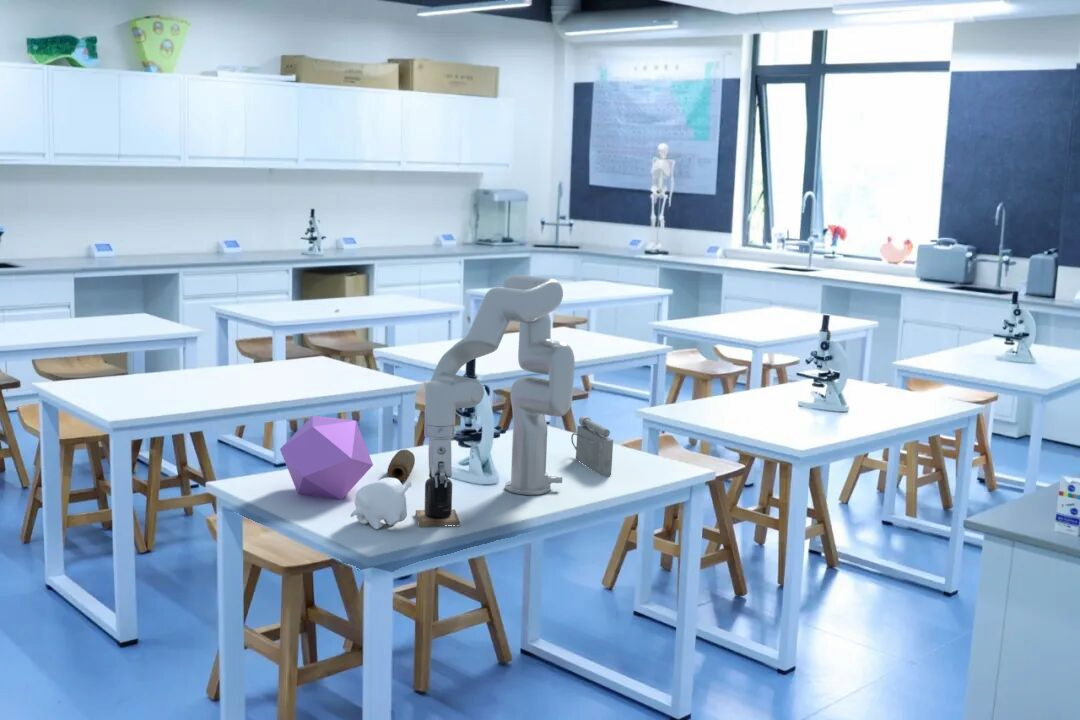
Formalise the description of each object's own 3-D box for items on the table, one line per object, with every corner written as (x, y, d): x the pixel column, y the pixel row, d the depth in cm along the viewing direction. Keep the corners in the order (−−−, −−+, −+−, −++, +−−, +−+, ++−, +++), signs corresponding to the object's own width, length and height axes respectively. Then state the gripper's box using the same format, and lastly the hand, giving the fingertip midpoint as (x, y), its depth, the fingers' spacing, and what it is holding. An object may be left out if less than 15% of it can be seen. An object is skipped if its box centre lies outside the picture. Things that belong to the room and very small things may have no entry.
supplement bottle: (418, 514, 288) (419, 468, 286) (440, 509, 292) (441, 464, 290) (435, 521, 283) (436, 474, 281) (457, 516, 287) (458, 470, 285)
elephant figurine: (383, 530, 290) (365, 488, 291) (434, 505, 281) (415, 462, 282) (353, 543, 280) (333, 500, 281) (404, 519, 271) (384, 474, 272)
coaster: (454, 513, 294) (454, 509, 293) (459, 526, 284) (459, 521, 284) (415, 514, 292) (415, 509, 291) (419, 527, 282) (419, 522, 282)
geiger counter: (617, 429, 333) (583, 411, 356) (597, 430, 331) (564, 412, 354) (615, 475, 336) (580, 454, 359) (595, 477, 333) (562, 455, 356)
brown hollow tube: (391, 469, 334) (391, 447, 332) (415, 470, 334) (415, 447, 333) (386, 483, 319) (386, 460, 318) (411, 484, 319) (412, 461, 318)
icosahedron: (394, 476, 301) (364, 392, 309) (323, 489, 287) (293, 400, 295) (357, 509, 317) (329, 428, 324) (288, 522, 303) (261, 438, 310)
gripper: (459, 438, 276) (457, 507, 279) (450, 422, 293) (448, 487, 296) (427, 438, 275) (426, 507, 278) (421, 422, 291) (419, 487, 294)
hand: (438, 497), depth 287 cm, fingers open, 9 cm apart
